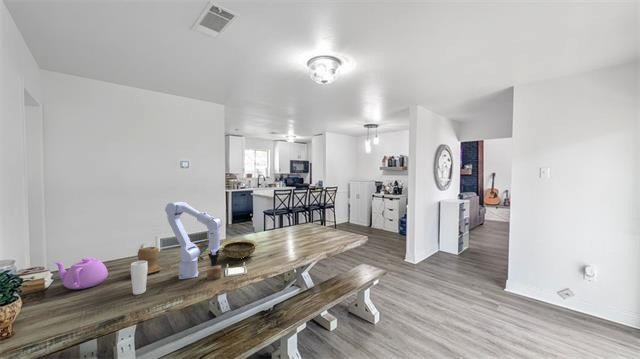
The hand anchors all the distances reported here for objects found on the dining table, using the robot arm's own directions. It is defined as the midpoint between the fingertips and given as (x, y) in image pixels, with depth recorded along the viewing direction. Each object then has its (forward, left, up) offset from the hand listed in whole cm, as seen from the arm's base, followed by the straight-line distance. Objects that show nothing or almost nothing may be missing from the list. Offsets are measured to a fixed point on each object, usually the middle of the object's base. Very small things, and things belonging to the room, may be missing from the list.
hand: (214, 263), depth 141 cm
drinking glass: (-34, -7, -8) cm, 36 cm away
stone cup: (-38, +19, -9) cm, 43 cm away
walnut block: (0, 0, -8) cm, 8 cm away
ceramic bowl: (+15, +29, -8) cm, 34 cm away
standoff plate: (+12, +4, -8) cm, 15 cm away
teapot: (-65, +12, -9) cm, 67 cm away
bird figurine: (-12, +32, -9) cm, 35 cm away
